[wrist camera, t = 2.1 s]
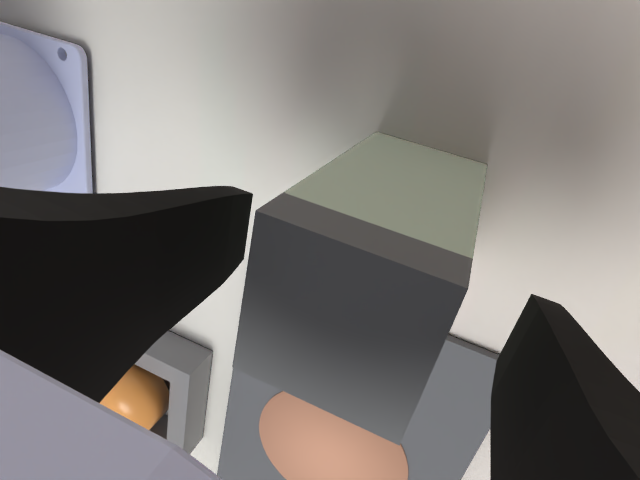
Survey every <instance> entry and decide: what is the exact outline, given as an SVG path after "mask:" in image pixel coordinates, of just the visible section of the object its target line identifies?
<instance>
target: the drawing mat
mask: <svg viewBox="0 0 640 480" xmlns="http://www.w3.org/2000/svg"><path fill="white" fill-rule="evenodd" d="M498 357H499V355H498V354H496V353H493V352H491V351H488V350H486V349H483V348H481V347H478V346H476V345H473V344H470V343H468V342H465V341H463V340H460V339H458V338H455V337H453V336H450V335H448V336H447V338H446V340H445V343H444V345H443V347H442V349H441V352H440V354H439V356H438V359H437V361H436V363H435V365H434V368H433V370H432V372H431V375H430V377H429V379H428V381H427V384H426V386H425V388H424V391H423V393H422V395H421V397H420V400H419V402H418V404H417V407H416V409H415V411H414V413H413V416H412V418H411V420H410V423H409V425H408V427H407V430H406V432H405V434H404V436H403V439H402V441H401V443H400V446H399V445H397V444H395V443H393V442H391V441H388V440H386V439H384V438H382V437H380V436H378V435H376V434H373V433H371V432H369V431H367V430H365V429H363V428H361V427H359V426H356V425H354V424H352V423H350V422H348V421H346V420H344V419H342V418H339V417H337V416H335V415H333V414H331V413H329V412H327V411H324V410H322V409H320V408H318V407H316V406H314V405H312V404H310V403H307V402H305V401H303V400H301V399H299V398H297V397H295V396H292V395H290V394H288V393H286V392H284V391H282V390H280V389H278V388H275V387H273V386H271V385H269V384H267V383H265V382H263V381H261V380H258V379H256V378H254V377H252V376H250V375H248V374H246V373H243V372H241V371H239V370H237V369H235V368H233V372H232V379H231V386H230V392H229V399H228V406H227V412H226V419H225V426H224V432H223V439H222V446H221V452H220V459H219V466H218V473H217V476H219V477H220V478H221V479H223V480H461V479H462V477H463V475H464V473H465V472H466V470H467V468H468V466H469V464H470V463H471V461H472V459H473V457H474V456H475V454H476V452H477V450H478V449H479V447H480V445H481V443H482V442H483V440H484V438H485V436H486V435H487V433H488V431H489V429H490V427H491V392H492V385H493V379H494V373H495V367H496V361H497V359H498Z"/></svg>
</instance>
